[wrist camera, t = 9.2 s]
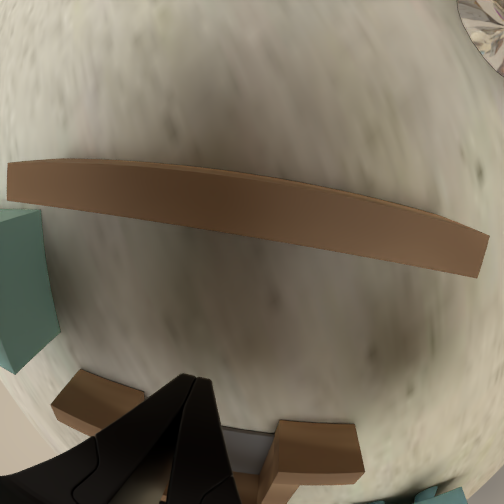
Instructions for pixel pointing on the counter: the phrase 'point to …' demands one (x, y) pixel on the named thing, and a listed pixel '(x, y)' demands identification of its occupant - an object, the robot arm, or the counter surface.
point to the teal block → (24, 289)
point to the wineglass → (485, 29)
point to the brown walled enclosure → (258, 226)
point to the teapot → (437, 497)
